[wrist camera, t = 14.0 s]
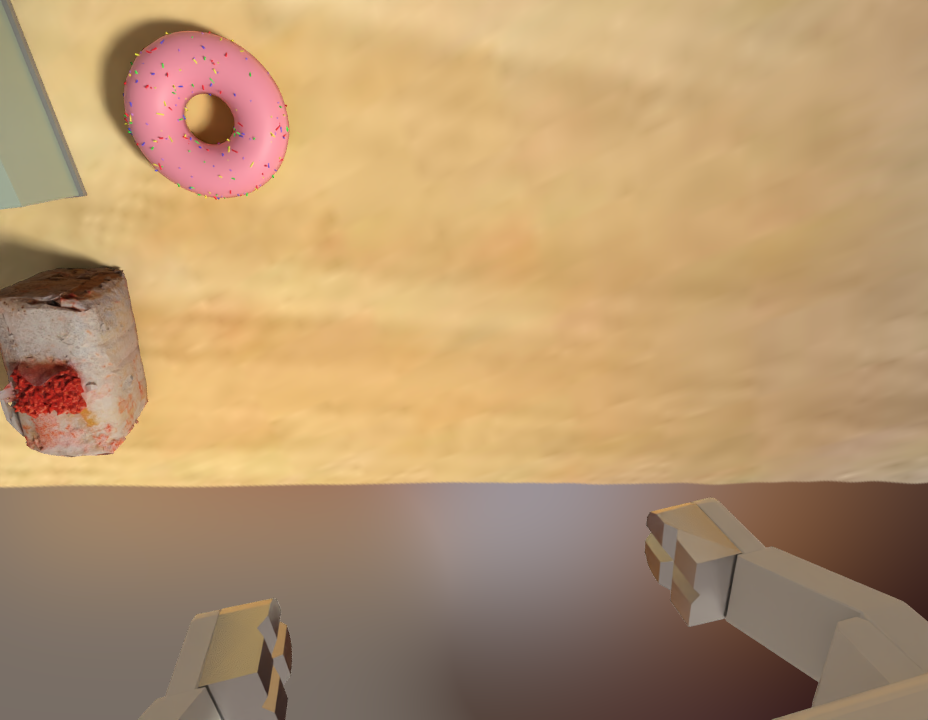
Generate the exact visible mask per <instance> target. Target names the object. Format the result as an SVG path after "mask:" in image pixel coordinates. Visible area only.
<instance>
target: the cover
mask: <svg viewBox="0 0 928 720" xmlns="http://www.w3.org/2000/svg"><path fill="white" fill-rule="evenodd" d="M78 195H79V193H78V191H77V188H76V186H75V184H74V181H73V179H72V176H71V174H70V171H69V169H68V166H67V164H66V161H65V159H64V156H63V154H62V151H61V149H60V146H59V144H58V141H57V139H56V136H55V134H54V131H53V129H52V126H51V124H50V121H49V119H48V116H47V114H46V111H45V109H44V106H43V104H42V102H41V99H40V97H39V94H38V92H37V89H36V87H35V84H34V82H33V79H32V77H31V74H30V72H29V69H28V67H27V64H26V62H25V59H24V57H23V54H22V52H21V49H20V47H19V44H18V42H17V39H16V37H15V34H14V32H13V29H12V27H11V24H10V22H9V20H8V17H7V15H6V12H5V10H4V7H3V5H2V2H1V0H0V209H8V208H17V207H24V206H29V205H34V204H39V203H44V202H48V201H53V200H58V199H63V198H68V197H73V196H78Z"/></svg>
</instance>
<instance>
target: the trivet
mask: <svg viewBox="0 0 928 720" xmlns="http://www.w3.org/2000/svg"><path fill="white" fill-rule="evenodd" d="M1 2H2V5H3V7H4V10H5V12H6V15H7V17H8V20H9V22H10V24H11V27H12V29H13V32H14V34H15V37H16V39H17V42H18V44H19V47H20V49H21V52H22V54H23V57H24V59H25V62H26V64H27V67H28V69H29V72H30V74H31V77H32V79H33V82H34V84H35V87H36V89H37V92H38V94H39V97H40V99H41V102H42V104H43V106H44V109H45V111H46V114H47V116H48V119H49V121H50V124H51V126H52V129H53V131H54V134H55V136H56V139H57V141H58V144H59V146H60V149H61V151H62V154H63V156H64V159H65V161H66V164H67V166H68V169H69V171H70V174H71V176H72V179H73V181H74V184H75V186H76V188H77V191H78V193H79V195H78V196H73V197H81V196H87V193H86V191H85V188H84V186H83V183H82V181H81V178H80V176H79V173H78V170H77V168H76V165H75V163H74V160H73V158H72V155H71V153H70V150H69V148H68V145H67V143H66V140H65V138H64V135H63V133H62V130H61V128H60V125H59V123H58V120H57V117H56V115H55V112H54V110H53V107H52V105H51V102H50V100H49V97H48V95H47V92H46V90H45V87H44V85H43V82H42V80H41V77H40V75H39V72H38V69H37V67H36V64H35V62H34V59H33V57H32V54H31V52H30V49H29V47H28V44H27V42H26V39H25V37H24V34H23V32H22V29H21V27H20V24H19V22H18V19H17V16H16V14H15V11H14V9H13V6H12V4H11V1H10V0H1ZM68 198H72V197H68Z"/></svg>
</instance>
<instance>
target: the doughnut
mask: <svg viewBox="0 0 928 720" xmlns="http://www.w3.org/2000/svg"><path fill="white" fill-rule="evenodd" d="M165 34H167V35H164V36H162V37H160V38H159V39H157V40H155V41H154V42H153V43H151V44H150V45H148V46H147V47H146V48H143V50H142V51H140V53H139V54H136V53H135V55H137V57H136V59H135V61H134V63H132V62H130V63H131V64H132V67H131V69H130V71H129V73H128V76H127V79H126V82H125V83H124V84H125V88H124V93H123V96H124V106H125V114H126V115H124V116H125V117H126V118H127V119H126V118H124V119H125V120H126V121H127V122H128V123H125V125H128V126H129V128H128V129H129V130H130V131H128V133H130V134H131V135H132V136H133V137H134V139H135V142H136V143H137V144H136V145H138V147H139V148H140V150H141V152H142V153H143V154H144V156H145V157H146V158H147V159H148V161H149V162H150V163H151V164H152V165H153V166H154V167H155V168H156V169H157V170H155V171H159V172H160V173H161V174H162V175H164V176H165V177H166V178H168V179H169V180H171V181H172V182H174V183H175V184H177V185H178V186H179V187H182V188H184V189H186V190H189V191H191V192H194V193H197V194H198V195H204V196H205V198H206V196H208V197H214V198H215V199H217V198H218V199H220V198H224V199H225V198H230V197H237V196H242V195H245V194H246V196H248V193H250V192H253V191H255V190H258V188H260V187H261V186H263V185H264V184H265V183H266V182H268V181H269V180H270V179H271V178H272V177H273V178H274V176H273V175H274V174H275V173H276V172H277V170H278V169H279V167H280V165H281V163H282V161H283V159H284V156H285V153H286V149H287V145H288V139H289V122H288V116H287V111H286V107H287V105H285V104H284V101H283V98H282V95H281V93H280V91H279V89H278V87H277V85H276V83H275V81H274V80H273V78H272V77H271V76H270V74H269V72H268V71H267V70H266V69H265V68H264V66H263V65H262V64H261V63H260V62H259V61H258V60H257V59H256V58H255V57H254V56H253V55H251V54H250V53H249V52H248V51H246V50H245V49H244V48H242V47H241V46H239V45H237V44H236V43H234V42H232V41H234V40H228V39H226V38H224V37H221V36H218V35H215V34H211V33H210V32H209V33H206V32H199V31H179V32H174V33H170V34H169V33H167V32H165ZM198 94H209V95H210V96H211V95H214V96H217V97H218V98H220V99H221V100H223V101H224V102H225V103H226V104H227V105H228V107H229V108H230V110H231V112H232V114H233V117H234V127H233V133H232V135H231V137H230V138H229V139H227V141H225V142H223V143H218V144H208V143H205V142H202V141H201V140H199V139H197V138H196V137H195V136H194V135H193V133H192V132H191V131H190V129H189V127H188V125H187V122H186V116H185V112H186V111H188V110H187V109H186V107H187V104H188V102H189V101H190V99H191V98H192V97H194V96H195V95H198ZM285 106H286V107H285Z"/></svg>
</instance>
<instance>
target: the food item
mask: <svg viewBox="0 0 928 720" xmlns="http://www.w3.org/2000/svg"><path fill="white" fill-rule="evenodd" d="M0 350H1V353H2V357H3V361H4V366H5V369H6V371H7V374H8V379H9V384H8V385H6V387H5V388H4V389H3V390H2V391H0V401H1V405H2V409H3V411H4V414H5V417H6V420H7V421H8V422H9V423H10V424H11V425H12V426H13V427H14V428H15V429H16V430H17V431H18V432H19V433H20V434H21V435H23V436H25V438H26V440H27V441H26V443H27V446H28V447H30V448H31V449H33V450H36V451H38V452H41V453H44V454H49V455H56V456H66V457H75V456H82V455H108V454H113V453H114V451H115V450H116V449H117V448H118V447H119V446H120V445H121V444H122V443H123V442H124V440H125V439H126V438H125V436H126V435H128V434H129V433H130V431H131V430H132V429H133V427H134V424H135V423H138V420H137V418H138V417H139V416H140V413H141V411H142V410H143V408H144V407H145V405H146V404H147V402H148V399H147V386H146V378H145V374H144V369H143V364H142V361H141V356H140V350H139V345H138V336H137V330H136V324H135V320H134V316H133V312H132V307H131V301H130V296H129V292H128V287H127V281H126V278H125V276H124V273H123V270H117V269H108V268H107V267H102V268H92V269H77V268H67V269H66V268H59V269H55V270H48V271H45V272H40V273H38V274H36V275H34V276H32V277H31V278H29V279H27V280H23V281H20V282H18V283H16V284H14V285H12V286H9V287H6V288H4V289H2V290H0ZM7 398H9V399H7ZM8 402H12V405H11V406H10V405H8Z"/></svg>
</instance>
